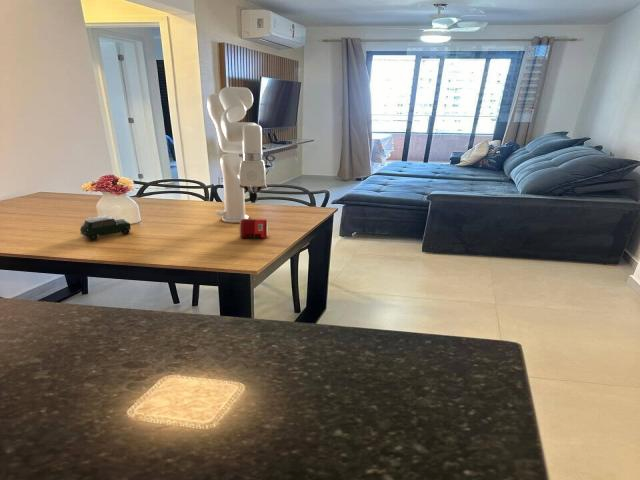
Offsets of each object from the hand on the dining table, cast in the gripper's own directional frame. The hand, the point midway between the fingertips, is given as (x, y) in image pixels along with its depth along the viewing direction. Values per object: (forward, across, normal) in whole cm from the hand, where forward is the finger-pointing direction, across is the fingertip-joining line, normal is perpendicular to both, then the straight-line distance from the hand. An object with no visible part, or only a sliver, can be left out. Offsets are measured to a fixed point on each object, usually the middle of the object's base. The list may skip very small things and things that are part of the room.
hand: (253, 202), depth 156 cm
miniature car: (+16, -60, -2) cm, 63 cm away
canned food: (+11, +6, -1) cm, 12 cm away
